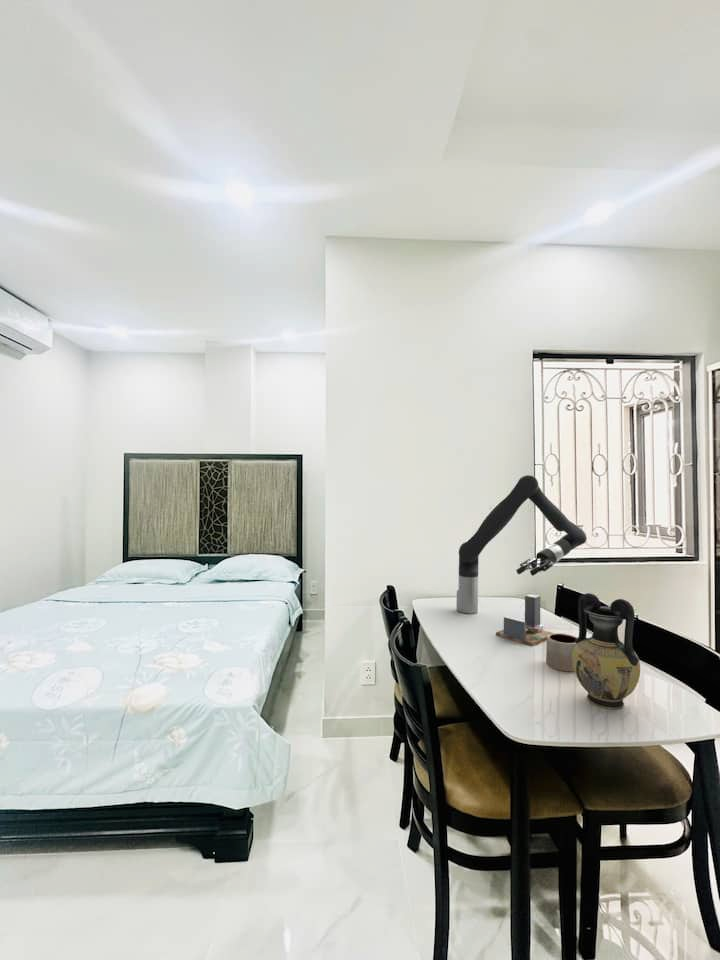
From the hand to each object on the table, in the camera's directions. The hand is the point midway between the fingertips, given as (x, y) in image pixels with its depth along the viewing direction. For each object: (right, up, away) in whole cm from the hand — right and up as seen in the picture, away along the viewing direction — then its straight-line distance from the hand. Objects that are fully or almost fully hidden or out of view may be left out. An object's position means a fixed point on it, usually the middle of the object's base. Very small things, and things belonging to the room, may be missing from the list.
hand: (524, 572), depth 197 cm
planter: (-1, -24, -41) cm, 47 cm away
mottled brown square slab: (-3, -24, -9) cm, 26 cm away
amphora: (-1, -23, -66) cm, 70 cm away
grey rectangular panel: (-9, -22, -15) cm, 28 cm away
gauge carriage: (0, -22, -8) cm, 24 cm away
